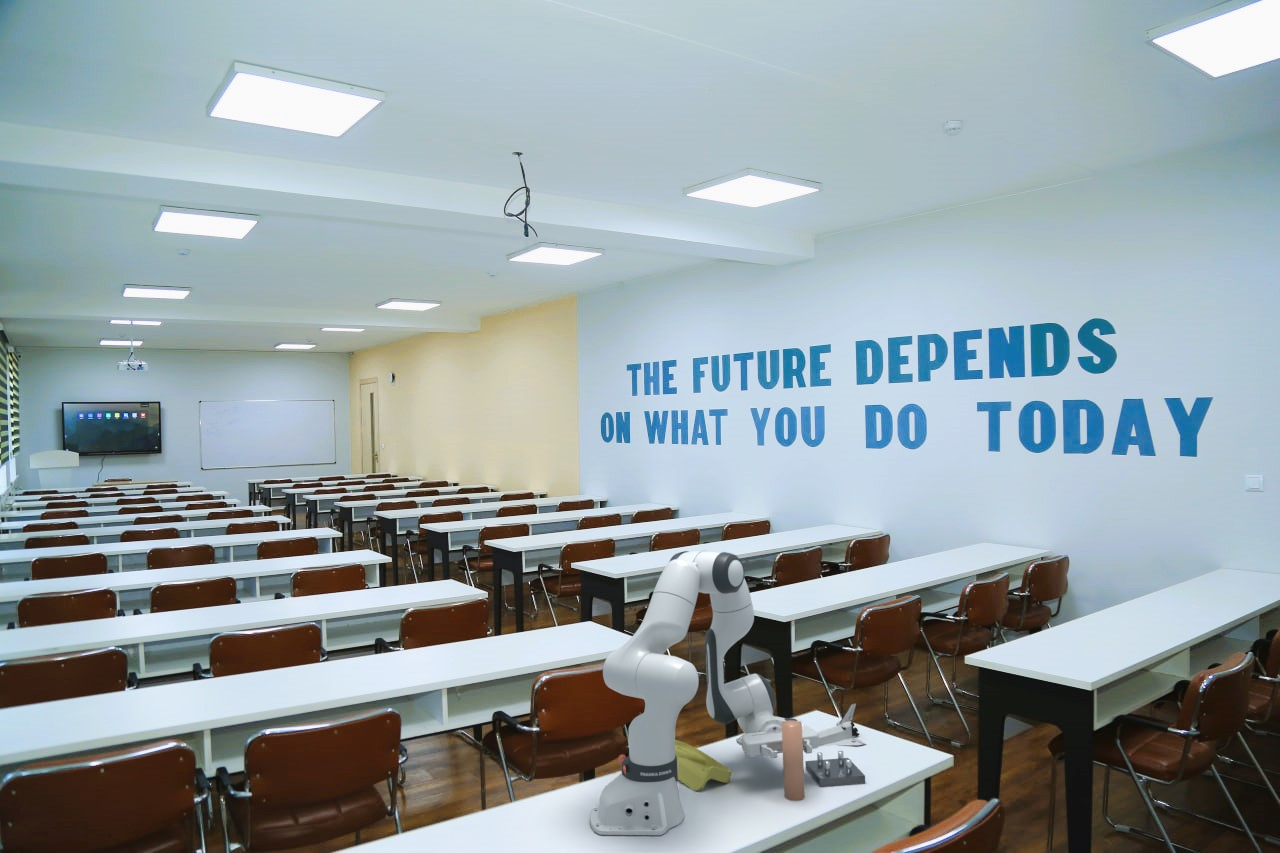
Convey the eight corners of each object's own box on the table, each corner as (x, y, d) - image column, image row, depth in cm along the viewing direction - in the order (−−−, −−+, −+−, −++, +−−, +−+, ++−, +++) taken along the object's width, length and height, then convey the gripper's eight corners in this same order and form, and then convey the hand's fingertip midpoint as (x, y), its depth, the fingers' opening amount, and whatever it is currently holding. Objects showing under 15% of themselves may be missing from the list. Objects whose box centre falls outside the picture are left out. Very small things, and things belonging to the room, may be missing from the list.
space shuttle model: (774, 744, 235) (772, 710, 236) (840, 728, 246) (839, 696, 247) (806, 761, 222) (805, 725, 222) (875, 744, 232) (873, 710, 233)
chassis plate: (820, 787, 204) (819, 767, 204) (805, 768, 215) (804, 749, 216) (865, 783, 205) (864, 763, 205) (848, 765, 217) (847, 746, 217)
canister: (787, 801, 196) (784, 727, 196) (781, 792, 201) (779, 721, 201) (807, 799, 196) (804, 726, 197) (801, 791, 201) (798, 719, 202)
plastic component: (735, 773, 208) (708, 765, 204) (725, 801, 207) (698, 793, 202) (692, 745, 225) (666, 736, 221) (682, 770, 224) (656, 763, 219)
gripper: (733, 726, 210) (753, 744, 197) (804, 717, 215) (828, 735, 202) (734, 750, 210) (754, 770, 197) (805, 741, 215) (829, 760, 202)
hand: (792, 752), depth 199 cm, fingers open, 8 cm apart
